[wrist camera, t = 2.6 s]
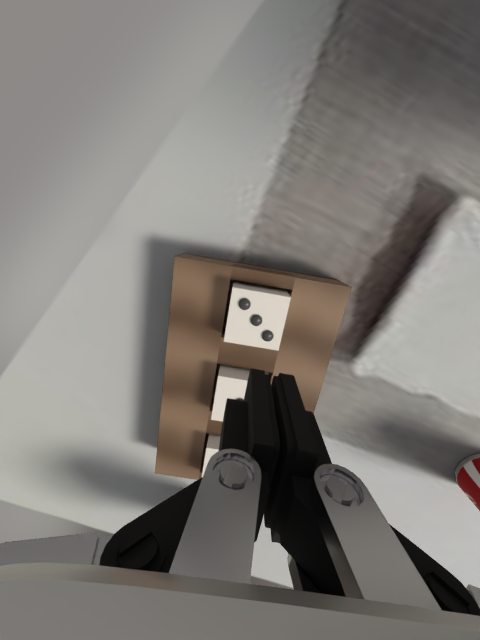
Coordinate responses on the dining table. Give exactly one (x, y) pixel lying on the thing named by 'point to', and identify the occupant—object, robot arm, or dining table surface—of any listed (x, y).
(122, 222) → the dining table surface
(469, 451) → the dining table surface
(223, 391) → the key one
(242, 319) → the key three
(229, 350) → the board
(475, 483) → the soda can
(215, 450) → the key two
